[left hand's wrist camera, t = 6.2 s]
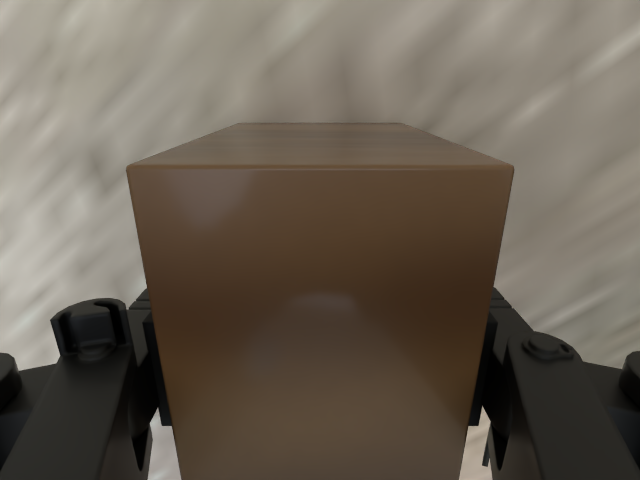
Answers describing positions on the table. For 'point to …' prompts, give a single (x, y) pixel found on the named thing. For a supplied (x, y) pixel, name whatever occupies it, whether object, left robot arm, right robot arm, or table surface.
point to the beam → (320, 297)
